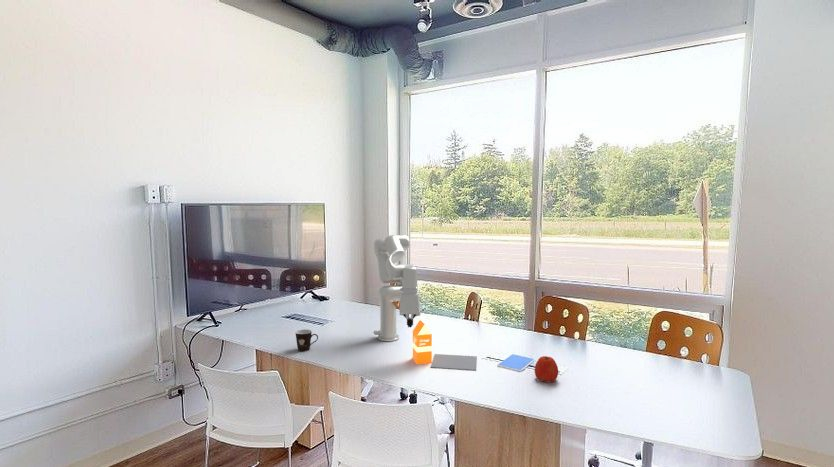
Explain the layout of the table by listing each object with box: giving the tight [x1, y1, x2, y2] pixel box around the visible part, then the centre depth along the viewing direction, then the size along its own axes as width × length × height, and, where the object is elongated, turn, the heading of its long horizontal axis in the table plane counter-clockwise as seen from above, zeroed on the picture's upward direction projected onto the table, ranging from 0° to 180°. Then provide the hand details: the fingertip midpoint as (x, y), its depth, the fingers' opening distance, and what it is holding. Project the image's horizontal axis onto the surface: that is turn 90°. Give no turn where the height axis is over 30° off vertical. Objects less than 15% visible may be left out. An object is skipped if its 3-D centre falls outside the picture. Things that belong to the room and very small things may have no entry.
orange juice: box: [412, 319, 433, 365], centre depth 208 cm, size 8×9×20 cm
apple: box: [534, 355, 559, 383], centre depth 185 cm, size 10×10×10 cm
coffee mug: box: [295, 328, 319, 353], centre depth 223 cm, size 12×9×10 cm
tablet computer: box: [496, 354, 535, 373], centre depth 205 cm, size 19×13×1 cm, turn 144°
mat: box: [430, 353, 478, 372], centre depth 205 cm, size 22×18×1 cm
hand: (410, 326), depth 208 cm, fingers closed
